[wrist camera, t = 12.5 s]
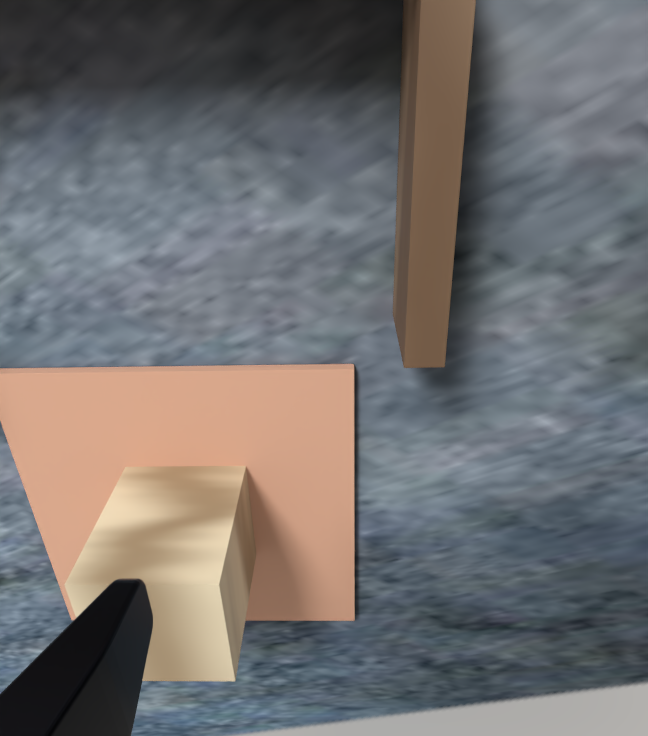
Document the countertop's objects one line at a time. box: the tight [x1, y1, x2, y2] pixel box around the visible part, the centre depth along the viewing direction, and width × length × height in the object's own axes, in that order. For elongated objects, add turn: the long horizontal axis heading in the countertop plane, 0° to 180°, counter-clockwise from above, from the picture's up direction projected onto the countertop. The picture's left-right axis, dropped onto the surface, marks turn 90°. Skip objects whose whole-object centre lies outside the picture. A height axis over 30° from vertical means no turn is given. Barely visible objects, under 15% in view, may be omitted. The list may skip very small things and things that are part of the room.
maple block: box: [65, 466, 256, 681], centre depth 22 cm, size 5×5×6 cm
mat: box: [0, 364, 355, 621], centre depth 25 cm, size 14×14×1 cm
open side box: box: [393, 0, 476, 368], centre depth 16 cm, size 19×11×4 cm, turn 91°
